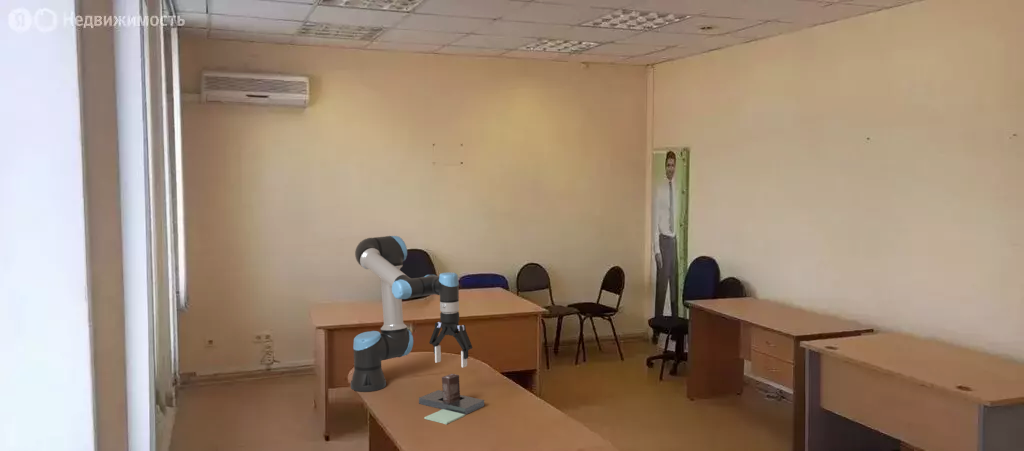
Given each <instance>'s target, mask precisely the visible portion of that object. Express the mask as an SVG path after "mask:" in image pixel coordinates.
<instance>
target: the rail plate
mask: <svg viewBox="0 0 1024 451" xmlns="http://www.w3.org/2000/svg"><path fill="white" fill-rule="evenodd" d="M418 404H420V405H423V406H427V407H431V408H435V409H438V410H439V409H440V410H442V409H445V410H449V411H453V412H457V413H461V414H465V416H467V415H468V414H470V413H473V412H475V411H477V410H479V409H482V408H484V407H485V399H480V398H478V397H477V398H476V397H471V396H467V395H463V394H460V401H457V402H455V403H449V402H444V401H443V390H441V389H437V390H435V391H433V392H430V393H427V394H425V395H422V396H419V397H418Z"/></svg>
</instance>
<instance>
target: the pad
mask: <svg viewBox="0 0 1024 451" xmlns="http://www.w3.org/2000/svg"><path fill="white" fill-rule="evenodd" d="M464 417H466V415H465V414H461V413H457V412H453V411H449V410H445V409H440V410H438V411H436V412H433V413H431V414H428V415H426V416H424V418H423V419H425V420H428V421H432V422H436V423H440V424H442V425H443V424H444V425H448V424H451V423H453V422H456V421H457V420H459V419H461V418H464Z"/></svg>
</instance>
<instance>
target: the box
mask: <svg viewBox="0 0 1024 451" xmlns="http://www.w3.org/2000/svg"><path fill="white" fill-rule="evenodd" d="M441 383H442V385H441V386H442V391H443V401H444V402H449V403H455V402H457V401H460V395H461V390H460V375H459V374H456V373H450V374H447V375H444V376H442V377H441Z"/></svg>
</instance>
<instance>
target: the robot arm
mask: <svg viewBox="0 0 1024 451" xmlns="http://www.w3.org/2000/svg"><path fill="white" fill-rule="evenodd" d="M354 256H355V260H356V262H357V264H358V265H360V266H361V267H362V268H363V269H365V270H369V271H371V272H372V273H373V274H374V275H376V276H377V277H379V278H380V288H381V303H382V316H383V317H382V318H383V325H382V326H381V327H380V331H377V330H371V331H364V332H361V333H359V334H357V335H356V336H355V337H354V338H353V345H352V346H353V348H352V349H353V368H354V369H353V373H352V378H351V381H350V389H351V390H352V391H354V392H364V393H365V392H374V391H380V390H382V389H384V388H386V386H387V379H386V378H385V374H384V371H383V369H382V361H385V360H391V359H396V358H401V357H404V356H407V355H409V354H410V353H411V351H412V350H413V346H414V336H413V333H412V331H411V330H410V329H408V326H407V325H406V324H405V322H404V314H403V312H404V311H403V300H408V299H412V298H418V297H425V296H432V295H435V296H439V311H440V313H439V316H440V317H439V318H440V319H439V320H440V321H438V322H435V323H434V329H433V332H432V334H431V337H430V340H429V344H430V345H432V346H433V354H434V362H435V363H440V362H441V361H442V353H441V352H442V351H441V349H442V348H441V347H442V346H441V345H440V344H441V342H442V340H444V338H445V337H446V336H452V337H453V338H454V339H455V340H456V341H457V343H458V345H459V347H460V348H461V349H462V350H461V351H460V356H461V358H460V359H461V364H460V365H461V368H465V367H468V359H469V350H473V345H472V343H471V339H470V338H469V335H468V332H467V328H466V325H465V324H462V325H460V324H459V322H460V312H459V311H460V299H459V298H460V295H459V294H460V293H459V292H460V288H459V286H460V285H459V284H460V282H459V275H458V274H457V273H456V272H449V271H448V272H441V273H439V275H436V274H426V275H425V276H421V277H413V278H411V277H409V276H408V275H407V274H405V273H404V272H403V271H401V268H403V265H404V264H403V263H404V262H405V261H406V259H407V256H408V248H407V245H406V243H405V241H404V240H403V238H401V237H400V236H397V235H387V236H376V237H368V238H365V239H363V240H360V242H359V243H358V245H357V246H356V248H355V250H354Z"/></svg>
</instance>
